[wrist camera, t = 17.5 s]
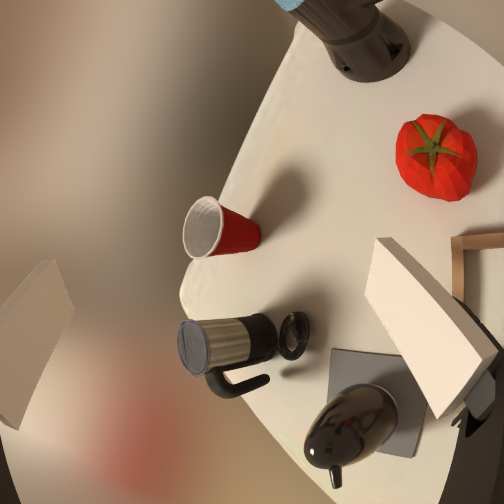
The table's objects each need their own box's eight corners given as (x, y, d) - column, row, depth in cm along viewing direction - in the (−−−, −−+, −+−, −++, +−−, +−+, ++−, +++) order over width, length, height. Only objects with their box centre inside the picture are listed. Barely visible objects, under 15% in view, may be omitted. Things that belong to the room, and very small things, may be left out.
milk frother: (236, 335, 55) (171, 343, 45) (274, 275, 49) (203, 273, 39) (276, 390, 46) (209, 413, 36) (327, 333, 40) (259, 352, 30)
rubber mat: (332, 348, 39) (331, 349, 39) (434, 358, 28) (434, 359, 28) (324, 435, 38) (322, 436, 37) (412, 457, 26) (411, 458, 26)
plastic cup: (281, 233, 49) (227, 222, 40) (249, 275, 54) (195, 273, 45) (252, 196, 55) (202, 182, 46) (226, 237, 60) (176, 230, 51)
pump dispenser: (358, 443, 33) (297, 495, 22) (333, 389, 38) (265, 426, 27) (416, 424, 27) (372, 489, 17) (389, 363, 32) (335, 406, 22)
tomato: (394, 157, 34) (371, 131, 28) (454, 123, 27) (443, 88, 21) (426, 224, 31) (411, 210, 25) (493, 189, 24) (496, 165, 18)
